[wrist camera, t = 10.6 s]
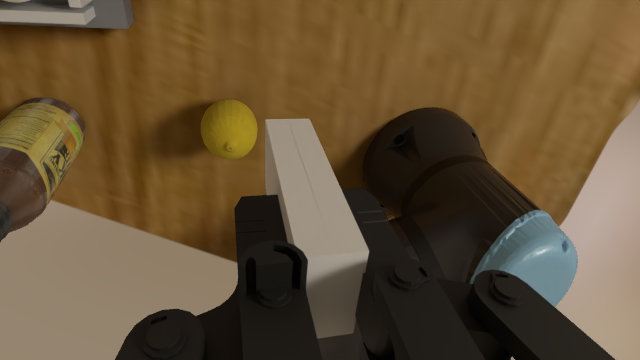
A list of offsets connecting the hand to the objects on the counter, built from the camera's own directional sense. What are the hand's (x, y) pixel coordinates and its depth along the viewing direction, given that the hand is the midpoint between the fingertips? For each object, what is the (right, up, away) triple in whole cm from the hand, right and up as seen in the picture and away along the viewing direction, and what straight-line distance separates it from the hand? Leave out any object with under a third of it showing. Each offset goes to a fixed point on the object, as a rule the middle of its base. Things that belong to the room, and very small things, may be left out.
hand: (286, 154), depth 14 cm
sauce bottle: (-25, +5, +25) cm, 36 cm away
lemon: (-9, +7, +28) cm, 31 cm away
